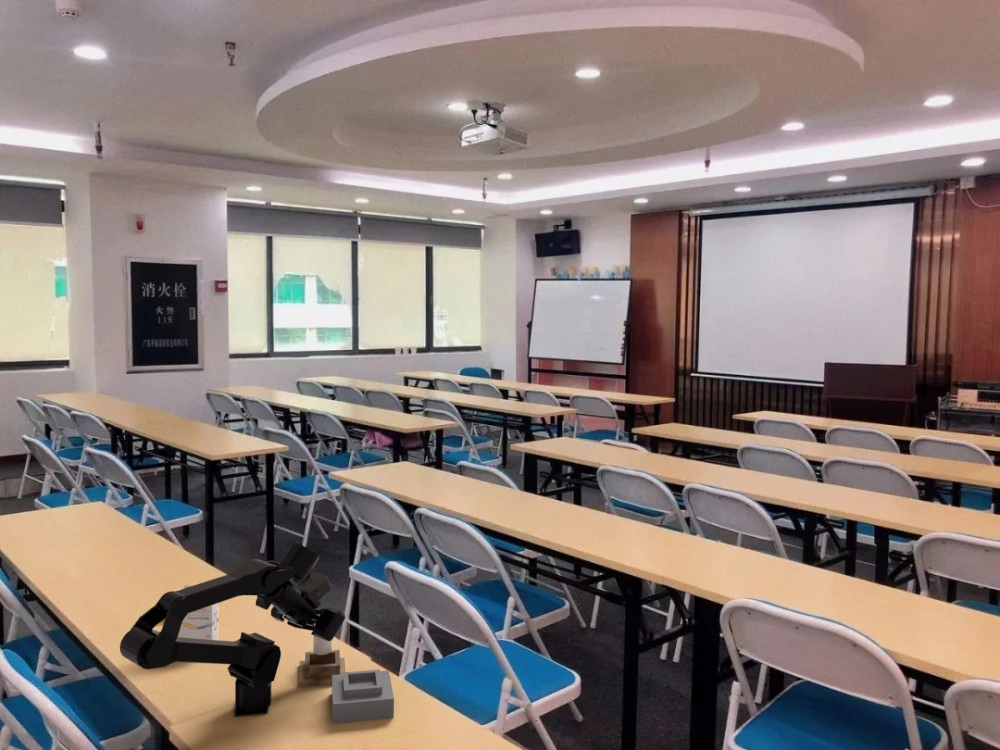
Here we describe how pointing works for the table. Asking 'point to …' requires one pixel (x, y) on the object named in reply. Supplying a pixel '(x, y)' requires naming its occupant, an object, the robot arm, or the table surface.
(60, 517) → the table surface
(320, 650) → the plug
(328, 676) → the low dock
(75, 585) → the table surface
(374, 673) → the upper dock
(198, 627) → the ink cartridge box
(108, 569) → the table surface
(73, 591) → the table surface
